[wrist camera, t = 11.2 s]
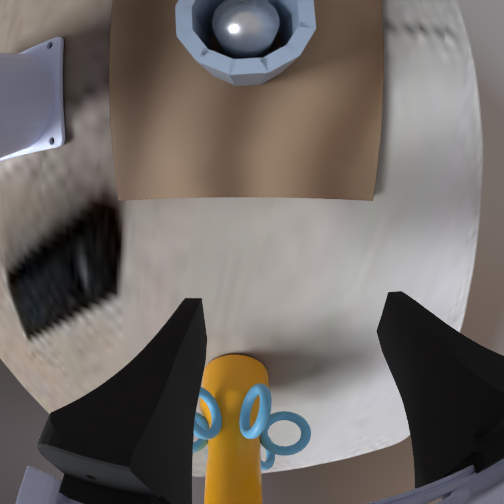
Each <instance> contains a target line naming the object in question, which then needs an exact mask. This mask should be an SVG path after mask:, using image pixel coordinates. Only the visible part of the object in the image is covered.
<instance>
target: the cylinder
mask: <svg viewBox="0 0 504 504" xmlns="http://www.w3.org/2000/svg"><path fill="white" fill-rule="evenodd" d="M199 397H201V398H200V409H201V412H202V414H203V416H202V415H201V414H199V413H197V412H196V413H195V420H194V435H195V436H197V437H199V439H198V440H197V441H196V442H194V443H193V453H194V452H197V451H199V450H201V449H202V448H204V447H205V446H206V445H207V443H208V448H207V456H206V460H207V466H206V482H205V497H204V504H262V484H261V470H267V469H269V468H271V467H272V466H273V464H274V461H275V454H277V455H292V454H295V453H298V452H299V451H301V450H302V449H304V448H305V447H306V445H307V444H308V442H309V440H310V437H311V430H310V427H309V424H308V423H307V421H306V420H305V419H304V418H303V417H301V416H300V415H298V414H295V413H292V412H285V411H283V412H276V413H273V414H271V415H270V412H271V403H272V401H271V393H270V390H269V379H268V372H267V369H266V368H265V366H264V365H263V364H262V363H261V362H260V361H258V360H256V359H254V358H252V357H249V356H245V355H237V354H233V355H224V356H220V357H217V358H215V359H213V360H212V361H211V362H209V363H208V365H207V366H206V367H205V370H204V374H203V382H202V387H200V392H199ZM280 420H289V421H292V422H294V423H296V424H297V425H298V426H299V428H300V430H301V438H300V439H299V441H298V442H297V443H295V444H294V445H291V446H286V447H284V446H278V445H276V444H274V443H273V442H272V441H271V439H270V438H269V436H268V429H269V427H270V426H271V425H272V424H273V423H274V422H276V421H280ZM260 443H261V444H262V446H263V447H264V448H265V449H266V454H267V457H266V461H265V462H263V461H262V460H261V453H260Z"/></svg>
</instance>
